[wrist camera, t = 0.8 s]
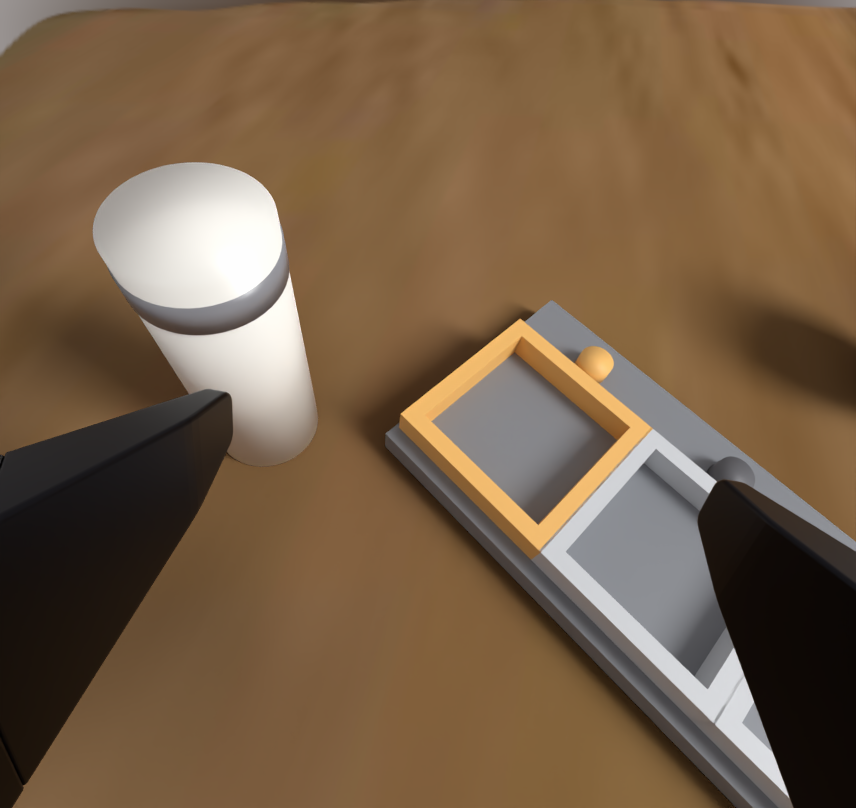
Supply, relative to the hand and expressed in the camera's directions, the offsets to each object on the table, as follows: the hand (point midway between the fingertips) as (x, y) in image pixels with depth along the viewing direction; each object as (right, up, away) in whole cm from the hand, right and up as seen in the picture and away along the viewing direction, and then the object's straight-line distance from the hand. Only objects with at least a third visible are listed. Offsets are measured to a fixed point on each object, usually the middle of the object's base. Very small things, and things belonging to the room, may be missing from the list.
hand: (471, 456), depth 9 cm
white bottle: (-9, 0, +17) cm, 19 cm away
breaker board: (+11, -6, +15) cm, 20 cm away
